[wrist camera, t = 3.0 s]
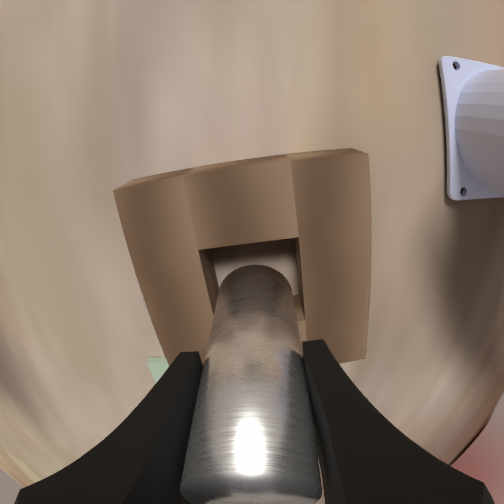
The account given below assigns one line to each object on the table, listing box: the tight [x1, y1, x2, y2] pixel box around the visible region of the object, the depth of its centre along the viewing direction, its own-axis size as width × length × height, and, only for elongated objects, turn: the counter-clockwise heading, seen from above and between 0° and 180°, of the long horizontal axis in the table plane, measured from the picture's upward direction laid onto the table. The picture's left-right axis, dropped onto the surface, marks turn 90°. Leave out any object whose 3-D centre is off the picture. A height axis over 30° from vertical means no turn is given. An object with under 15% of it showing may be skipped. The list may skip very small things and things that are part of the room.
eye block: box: [113, 148, 371, 366], centre depth 16 cm, size 11×11×2 cm
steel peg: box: [180, 265, 322, 504], centre depth 10 cm, size 3×3×9 cm
